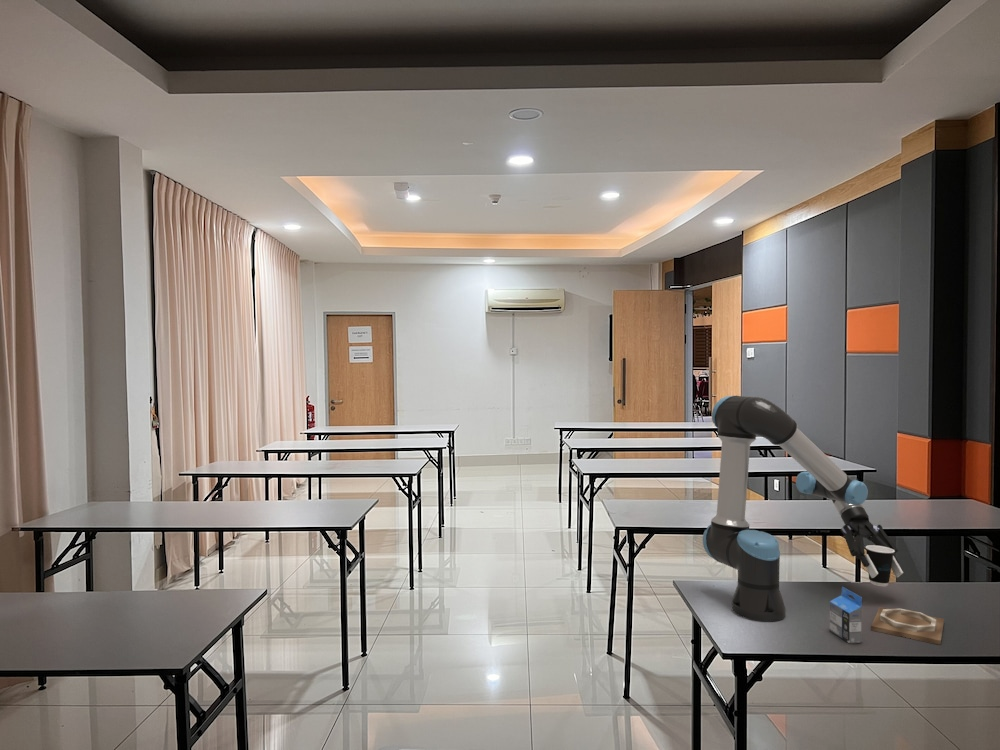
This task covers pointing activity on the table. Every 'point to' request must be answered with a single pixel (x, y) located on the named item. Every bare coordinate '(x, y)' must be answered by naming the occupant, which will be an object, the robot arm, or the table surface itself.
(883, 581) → the dixie cup
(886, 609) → the board
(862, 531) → the robot arm
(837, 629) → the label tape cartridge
